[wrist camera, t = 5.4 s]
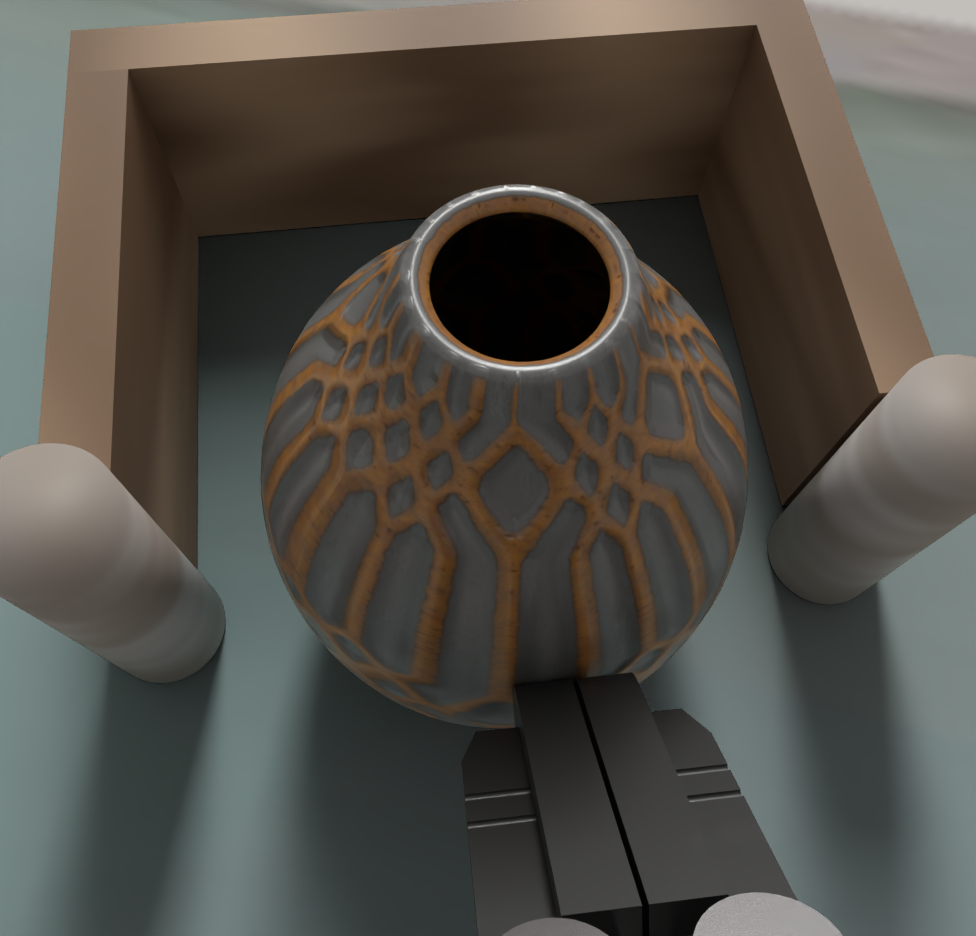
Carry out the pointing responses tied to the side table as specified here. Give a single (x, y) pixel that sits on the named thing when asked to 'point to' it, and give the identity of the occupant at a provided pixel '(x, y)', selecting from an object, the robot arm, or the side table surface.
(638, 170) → the housing
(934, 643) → the side table surface
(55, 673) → the side table surface
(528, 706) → the robot arm
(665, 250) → the side table surface
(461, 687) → the vase
